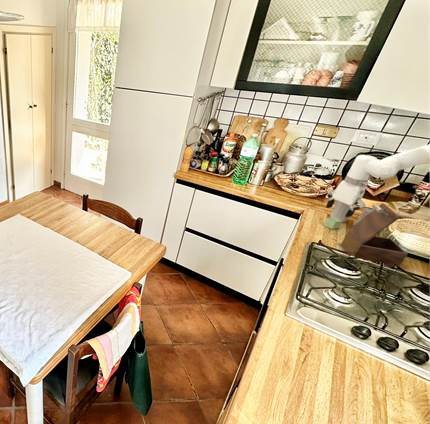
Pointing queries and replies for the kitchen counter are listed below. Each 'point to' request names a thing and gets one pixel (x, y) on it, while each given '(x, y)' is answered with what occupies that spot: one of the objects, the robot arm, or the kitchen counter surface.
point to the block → (332, 222)
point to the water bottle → (341, 210)
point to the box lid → (373, 223)
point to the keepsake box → (375, 250)
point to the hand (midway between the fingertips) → (337, 211)
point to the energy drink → (364, 213)
